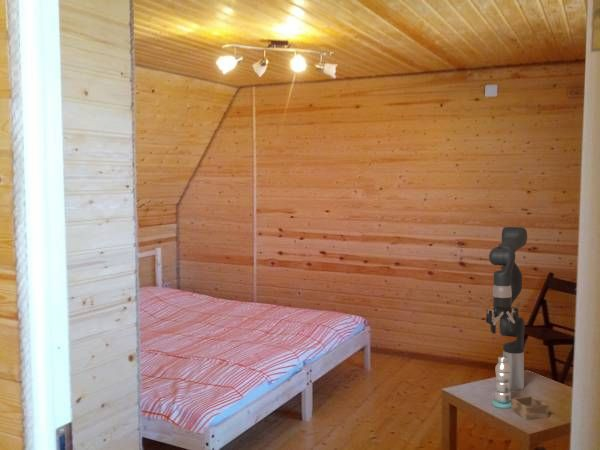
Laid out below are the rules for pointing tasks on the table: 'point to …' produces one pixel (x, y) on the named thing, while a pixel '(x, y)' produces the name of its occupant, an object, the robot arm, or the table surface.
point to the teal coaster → (501, 404)
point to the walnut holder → (529, 408)
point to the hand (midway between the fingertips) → (502, 332)
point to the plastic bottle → (502, 380)
